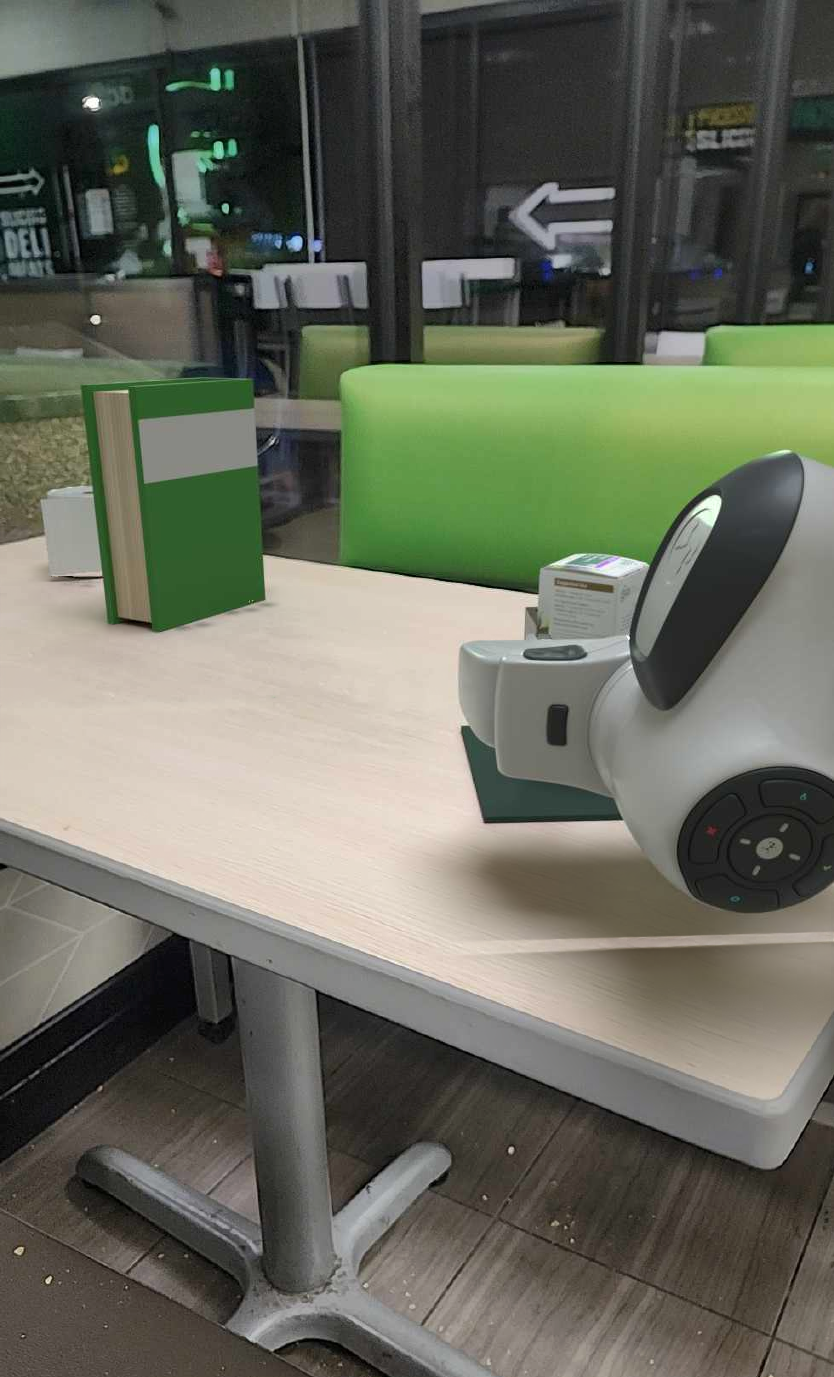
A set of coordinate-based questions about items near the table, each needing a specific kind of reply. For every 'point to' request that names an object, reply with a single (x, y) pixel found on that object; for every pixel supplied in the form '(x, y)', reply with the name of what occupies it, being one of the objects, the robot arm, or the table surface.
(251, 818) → the table surface
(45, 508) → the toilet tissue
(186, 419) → the hardback book
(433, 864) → the table surface
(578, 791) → the mat
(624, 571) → the syrup box
